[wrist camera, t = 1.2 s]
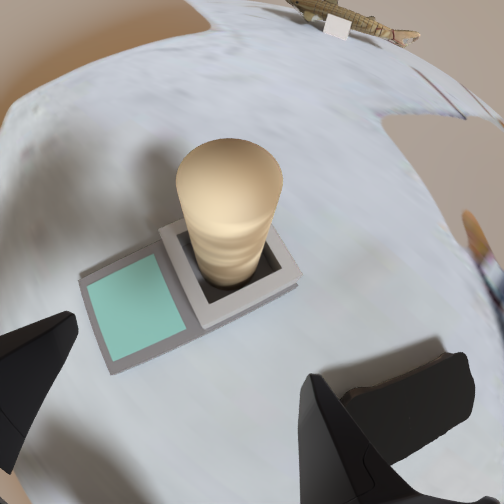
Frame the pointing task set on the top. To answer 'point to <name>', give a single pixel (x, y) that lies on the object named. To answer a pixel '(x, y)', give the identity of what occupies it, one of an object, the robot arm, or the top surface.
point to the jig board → (173, 297)
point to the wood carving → (348, 21)
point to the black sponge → (413, 406)
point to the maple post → (228, 207)
